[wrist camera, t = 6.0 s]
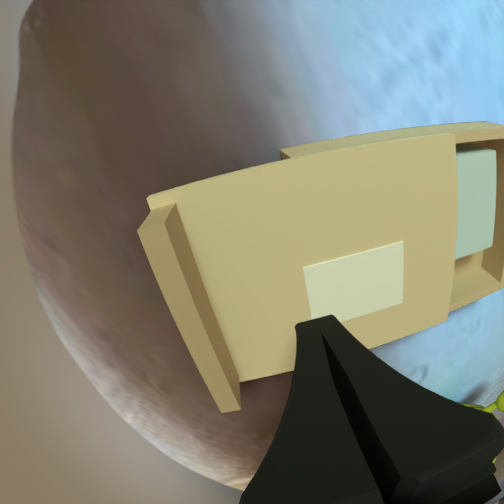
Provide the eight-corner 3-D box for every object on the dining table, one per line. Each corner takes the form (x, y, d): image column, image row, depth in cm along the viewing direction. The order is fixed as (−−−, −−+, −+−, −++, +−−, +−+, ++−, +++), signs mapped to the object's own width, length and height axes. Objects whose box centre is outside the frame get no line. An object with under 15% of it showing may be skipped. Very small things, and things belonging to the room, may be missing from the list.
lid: (448, 132, 12) (488, 141, 9) (443, 315, 17) (466, 344, 14) (149, 195, 12) (129, 218, 10) (222, 378, 17) (222, 418, 14)
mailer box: (484, 121, 15) (516, 127, 12) (480, 268, 19) (504, 287, 16) (279, 149, 15) (290, 157, 12) (312, 323, 20) (324, 354, 17)
